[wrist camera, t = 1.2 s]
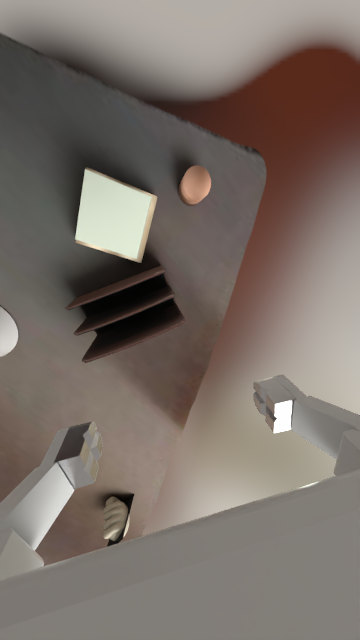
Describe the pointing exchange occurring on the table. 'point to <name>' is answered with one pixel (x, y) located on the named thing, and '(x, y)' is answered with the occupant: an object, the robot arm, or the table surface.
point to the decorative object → (116, 519)
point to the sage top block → (112, 215)
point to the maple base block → (147, 226)
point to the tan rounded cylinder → (194, 185)
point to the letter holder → (128, 313)
